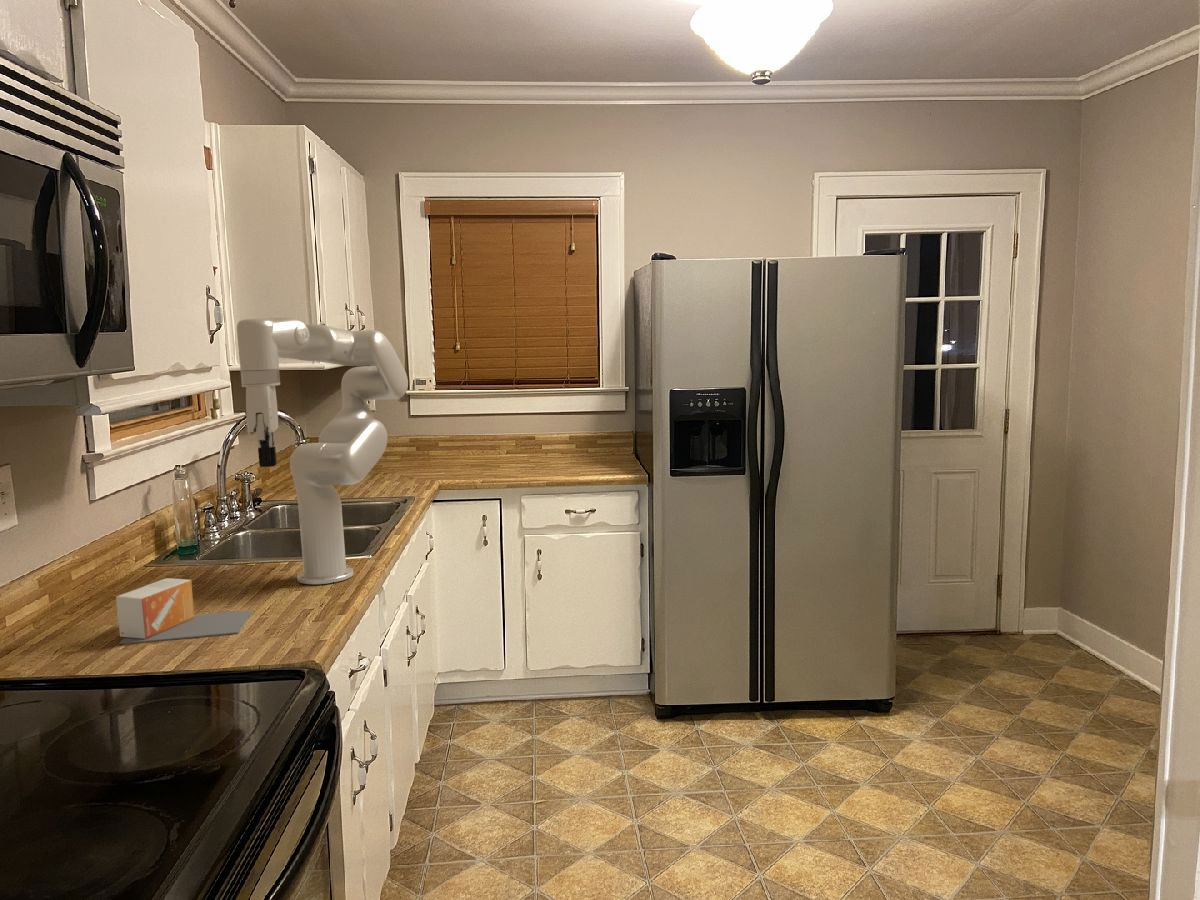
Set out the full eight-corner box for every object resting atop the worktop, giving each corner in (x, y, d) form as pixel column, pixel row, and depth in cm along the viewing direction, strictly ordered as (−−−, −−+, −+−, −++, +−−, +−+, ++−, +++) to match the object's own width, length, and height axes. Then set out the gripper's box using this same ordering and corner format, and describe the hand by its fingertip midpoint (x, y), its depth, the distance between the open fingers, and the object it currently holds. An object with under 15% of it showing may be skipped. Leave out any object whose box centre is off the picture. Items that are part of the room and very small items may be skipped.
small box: (195, 617, 178) (145, 640, 166) (170, 615, 180) (118, 637, 168) (192, 578, 177) (141, 598, 165) (166, 577, 179) (114, 596, 167)
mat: (142, 621, 178) (141, 619, 178) (251, 611, 182) (251, 609, 182) (119, 644, 164) (118, 643, 164) (238, 633, 169) (238, 632, 168)
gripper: (248, 378, 190) (255, 462, 192) (234, 381, 175) (242, 472, 178) (284, 376, 191) (291, 460, 194) (273, 379, 177) (281, 470, 179)
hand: (268, 465), depth 186 cm, fingers closed
